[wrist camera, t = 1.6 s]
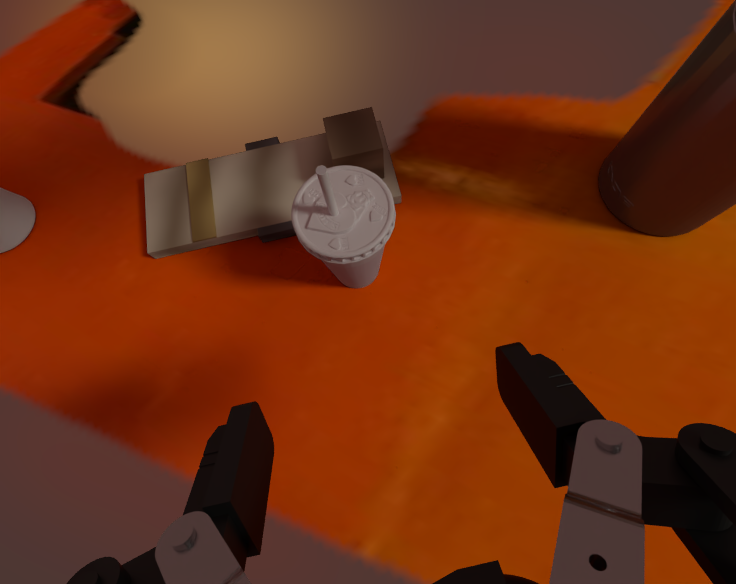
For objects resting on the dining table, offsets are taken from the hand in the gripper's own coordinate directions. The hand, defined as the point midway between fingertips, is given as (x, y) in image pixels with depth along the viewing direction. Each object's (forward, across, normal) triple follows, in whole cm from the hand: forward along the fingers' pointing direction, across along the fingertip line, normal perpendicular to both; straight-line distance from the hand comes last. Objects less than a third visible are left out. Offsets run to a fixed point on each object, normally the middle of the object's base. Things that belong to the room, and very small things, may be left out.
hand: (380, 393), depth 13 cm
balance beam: (+26, +6, -2) cm, 27 cm away
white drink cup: (+20, 0, +4) cm, 21 cm away
